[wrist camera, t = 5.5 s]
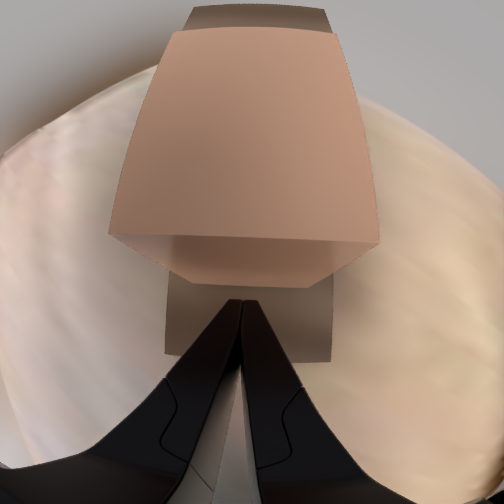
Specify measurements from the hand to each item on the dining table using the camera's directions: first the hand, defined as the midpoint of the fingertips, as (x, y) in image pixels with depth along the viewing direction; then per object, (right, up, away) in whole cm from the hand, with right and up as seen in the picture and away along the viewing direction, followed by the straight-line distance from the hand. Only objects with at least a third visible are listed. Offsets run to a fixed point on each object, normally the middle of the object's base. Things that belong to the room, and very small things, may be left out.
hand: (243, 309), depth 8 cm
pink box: (0, +4, +7) cm, 8 cm away
